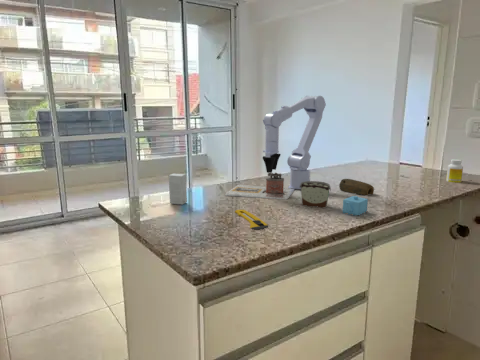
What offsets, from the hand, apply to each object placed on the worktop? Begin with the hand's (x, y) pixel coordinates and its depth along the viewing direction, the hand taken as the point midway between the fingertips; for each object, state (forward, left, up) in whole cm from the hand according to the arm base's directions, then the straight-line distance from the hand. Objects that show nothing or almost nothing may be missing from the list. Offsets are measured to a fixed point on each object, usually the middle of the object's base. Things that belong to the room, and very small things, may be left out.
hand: (271, 170), depth 166 cm
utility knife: (-2, +41, -11) cm, 42 cm away
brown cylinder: (-37, -10, -11) cm, 40 cm away
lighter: (-2, +1, -11) cm, 11 cm away
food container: (-22, +15, -11) cm, 29 cm away
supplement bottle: (-83, -44, -11) cm, 95 cm away
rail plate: (+5, +1, -10) cm, 11 cm away
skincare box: (+33, +27, -11) cm, 44 cm away
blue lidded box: (-37, +23, -11) cm, 45 cm away
